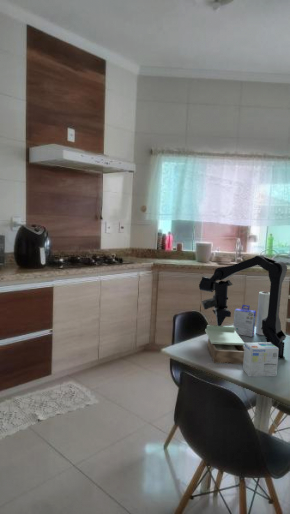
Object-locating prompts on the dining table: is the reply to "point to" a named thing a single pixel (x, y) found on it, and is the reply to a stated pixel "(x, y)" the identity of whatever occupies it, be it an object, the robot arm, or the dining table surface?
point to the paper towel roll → (262, 310)
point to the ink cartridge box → (244, 321)
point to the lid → (223, 335)
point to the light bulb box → (260, 359)
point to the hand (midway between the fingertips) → (218, 326)
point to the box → (226, 353)
